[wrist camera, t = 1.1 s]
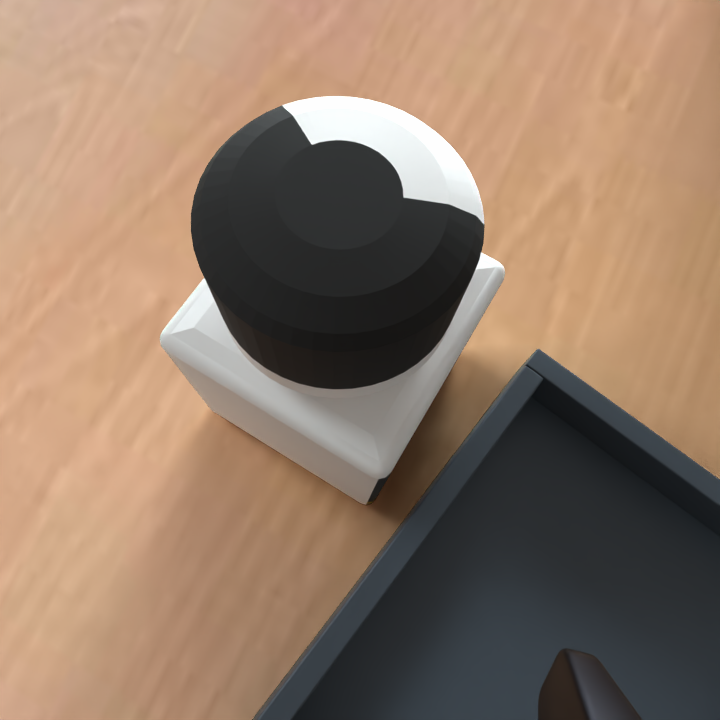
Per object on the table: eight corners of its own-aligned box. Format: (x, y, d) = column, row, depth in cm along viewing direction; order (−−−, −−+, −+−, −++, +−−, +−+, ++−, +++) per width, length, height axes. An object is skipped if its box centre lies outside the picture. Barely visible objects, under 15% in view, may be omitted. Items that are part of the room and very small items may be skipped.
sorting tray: (610, 1081, 16) (656, 1167, 14) (245, 728, 19) (232, 750, 16) (837, 605, 21) (902, 610, 18) (517, 370, 23) (538, 347, 21)
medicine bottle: (369, 510, 21) (407, 443, 10) (206, 408, 22) (72, 242, 11) (461, 351, 23) (580, 148, 12) (309, 265, 24) (287, 3, 13)
